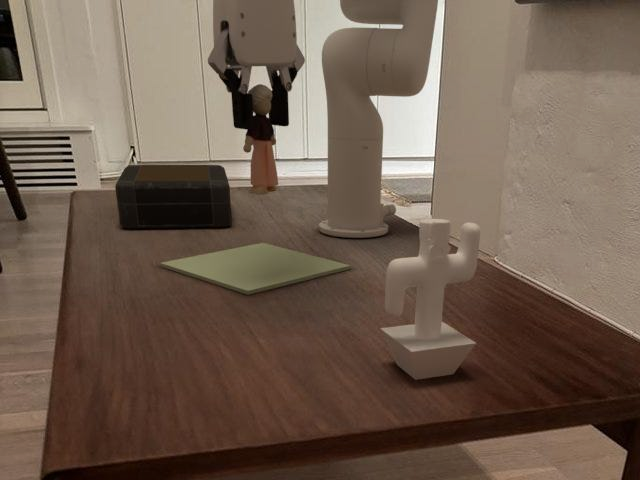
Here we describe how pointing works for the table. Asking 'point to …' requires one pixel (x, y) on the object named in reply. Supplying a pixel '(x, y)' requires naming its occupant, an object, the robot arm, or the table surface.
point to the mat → (255, 267)
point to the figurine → (430, 300)
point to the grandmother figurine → (261, 143)
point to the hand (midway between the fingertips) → (261, 125)
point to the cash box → (173, 197)
